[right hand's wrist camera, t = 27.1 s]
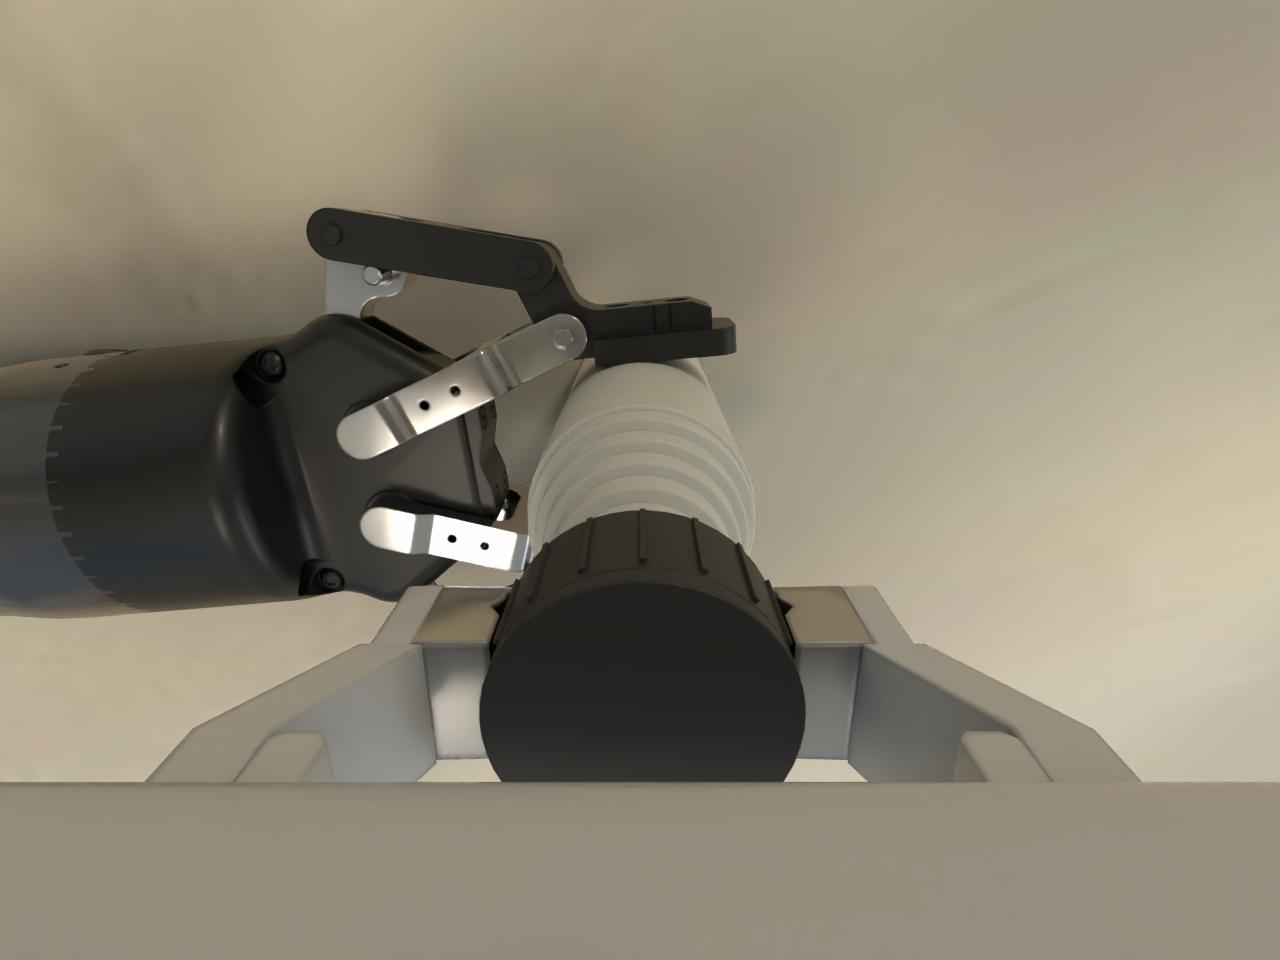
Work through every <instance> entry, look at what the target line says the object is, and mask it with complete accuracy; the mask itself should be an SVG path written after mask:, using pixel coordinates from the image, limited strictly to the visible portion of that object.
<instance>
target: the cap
mask: <svg viewBox="0 0 1280 960" xmlns="http://www.w3.org/2000/svg"><path fill="white" fill-rule="evenodd" d="M492 643H493V644H495V645H496V647H495V650H494V653H493V656H492V659H491V662H490V665H489V668H488V670H487V673H486V676H485V679H484V682H483V685H482V687H481V696H480V703H479V723H480V730H481V737H482V740H483V744H484V747H485V751H486V754H487V756H488V758H489V760H490V763H491V765H492V767H493V769H494V771H495V772H496V774H497V775H498V777H499V779H500V780H501V782H783V781H784V780H785V779H786V777H787V775H788V773H789V772H790V770H791V768H792V767H793V765H794V763H795V760H796V758H797V755H798V753H799V750H800V748H801V744H802V739H803V735H804V731H805V720H806V706H805V695H804V691H803V686H802V683H801V679H800V675H799V673H798V670H797V667H796V665H795V662H794V659H793V656H792V653H791V650H790V648H789V645H792V644H793V643H792V640H791V637H790V634H789V632H788V629H787V626H786V624H785V621H784V618H783V616H782V613H781V610H780V607H779V605H778V602H777V599H776V597H775V594H774V591H773V589H772V586H771V583H770V581H769V580H766V581H765V580H764V578H763V576H762V575H761V573H760V571H759V570H758V568H757V567H756V565H755V564H754V562H753V561H752V560H751V559H750V558H749V556H748V555H747V554H746V553H745V552H744V549H743V546H742V545H741V544H740V543H739V542H738V543H737V544H736V543H735V542H733V541H732V540H731V539H730V538H728V537H727V536H725V535H724V534H722V533H721V532H719V531H718V530H716V529H714V528H712V527H710V526H708V525H706V524H704V523H702V522H700V521H699V519H698V518H695V517H693V518H692V519H691V518H689V517H686V516H682V515H678V514H673V513H669V512H662V511H652V510H646V509H645V508H640V510H631V511H623V512H616V513H610V514H606V515H603V516H599V517H595V518H593V517H589V518H587V520H586V521H585V522H582V523H580V524H578V525H576V526H574V527H572V528H570V529H569V530H567V531H565V532H563V533H562V534H560V535H559V536H557V537H556V538H555V539H554V540H552V541H551V542H550V543H548V542H545V543H544V544H543V545H542V548H541V551H540V552H539V553H538V554H537V555H536V556H535V557H534V559H533V560H532V561H531V563H530V564H529V565H528V567H527V568H526V570H525V571H524V573H523V575H522V577H521V579H520V580H518V579H516V580H515V582H514V584H513V587H512V589H511V592H510V595H509V598H508V601H507V603H506V606H505V609H504V612H503V614H502V617H501V620H500V623H499V626H498V628H497V631H496V634H495V637H494V640H493V642H492Z"/></svg>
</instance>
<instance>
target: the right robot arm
mask: <svg viewBox="0 0 1280 960" xmlns="http://www.w3.org/2000/svg"><path fill="white" fill-rule="evenodd" d="M511 589H512V587H469V586H446V587H445V586H444V585H436V586H412V587H408V588H407V589H406V591H405V593H404V594H403V596H402V597H401V599H400V600H399V602H398V603H397V605H396V606H395V608H394V609H393V611H392V612H391V614H390V615H389V617H388V618H387V620H386V621H385V623H384V624H383V626H382V627H381V629H380V630H379V632H378V633H377V635H376V636H375V638H374V639H373V641H372V642H371V644H359V645H357V646H355V647H353V648H351V649H349V650H347V651H345V652H343V653H341V654H339V655H337V656H335V657H333V658H331V659H329V660H327V661H325V662H323V663H321V664H319V665H317V666H315V667H314V668H312V669H310V670H308V671H306V672H304V673H302V674H300V675H298V676H296V677H294V678H292V679H290V680H288V681H286V682H284V683H282V684H280V685H278V686H276V687H274V688H272V689H270V690H268V691H266V692H264V693H262V694H260V695H258V696H256V697H254V698H252V699H250V700H248V701H246V702H244V703H242V704H240V705H238V706H236V707H235V708H233V709H231V710H229V711H227V712H225V713H223V714H221V715H219V716H217V717H215V718H213V719H211V720H209V721H207V722H205V723H203V724H201V725H199V726H197V727H195V728H193V729H192V730H191V731H190V732H189V733H188V734H187V736H186V737H185V738H184V739H183V740H182V741H181V742H180V743H179V744H178V746H177V747H176V748H175V749H174V750H173V751H172V752H171V753H170V754H169V755H168V757H167V758H166V759H165V760H164V761H163V762H162V763H161V764H160V765H159V766H158V768H157V769H156V770H155V771H154V772H153V773H152V774H151V775H150V776H149V778H148V779H147V780H146V781H145V782H0V960H1280V782H1142V781H1141V780H1140V779H1139V778H1138V777H1137V776H1136V775H1135V774H1134V772H1133V771H1132V770H1131V769H1130V768H1129V767H1128V766H1127V765H1126V764H1125V763H1124V762H1123V760H1122V759H1121V758H1120V757H1119V756H1118V755H1117V754H1116V753H1115V752H1114V751H1113V749H1112V748H1111V747H1110V746H1109V745H1108V744H1107V743H1106V742H1105V741H1104V740H1103V738H1102V737H1101V736H1100V735H1099V734H1098V733H1097V732H1096V731H1095V730H1094V729H1092V728H1090V727H1088V726H1086V725H1084V724H1082V723H1080V722H1078V721H1076V720H1074V719H1072V718H1070V717H1068V716H1067V715H1065V714H1063V713H1061V712H1059V711H1057V710H1055V709H1053V708H1051V707H1049V706H1047V705H1045V704H1043V703H1041V702H1039V701H1037V700H1035V699H1033V698H1031V697H1029V696H1027V695H1025V694H1023V693H1021V692H1019V691H1017V690H1015V689H1013V688H1011V687H1009V686H1007V685H1005V684H1003V683H1001V682H999V681H997V680H995V679H993V678H991V677H989V676H987V675H985V674H983V673H981V672H979V671H977V670H975V669H973V668H971V667H969V666H967V665H965V664H963V663H961V662H959V661H958V660H956V659H954V658H952V657H950V656H948V655H946V654H944V653H942V652H940V651H938V650H936V649H934V648H932V647H930V646H928V645H926V644H914V643H913V641H912V640H911V639H910V637H909V636H908V634H907V633H906V631H905V630H904V628H903V627H902V625H901V624H900V622H899V621H898V619H897V618H896V617H895V615H894V614H893V612H892V611H891V609H890V608H889V606H888V605H887V603H886V602H885V600H884V599H883V597H882V596H881V595H880V593H879V592H878V590H877V589H876V587H873V586H871V585H863V586H841V587H840V586H816V587H774V588H772V589H773V591H774V594H775V597H776V599H777V602H778V605H779V607H780V610H781V613H782V616H783V618H784V621H785V624H786V626H787V629H788V632H789V634H790V637H791V640H792V643H793V644H792V645H789V648H790V650H791V653H792V656H793V659H794V662H795V665H796V667H797V670H798V673H799V675H800V679H801V683H802V686H803V691H804V695H805V706H806V720H805V731H804V735H803V739H802V744H801V748H800V750H799V753H798V755H797V758H796V759H833V760H848V763H849V764H850V765H851V766H852V767H853V768H854V769H855V770H856V771H857V772H858V773H859V774H861V775H862V776H863V777H864V778H865V779H866V780H867V781H868V782H417V781H418V780H419V779H420V778H421V777H422V776H423V775H424V774H425V773H426V772H428V771H429V770H430V769H431V768H432V767H433V766H434V765H435V764H436V760H451V759H486V758H488V756H487V754H486V751H485V747H484V744H483V740H482V737H481V730H480V723H479V703H480V696H481V687H482V685H483V682H484V679H485V676H486V673H487V670H488V668H489V665H490V662H491V659H492V656H493V653H494V650H495V647H496V645H495V644H493V643H492V642H493V640H494V637H495V634H496V631H497V628H498V626H499V623H500V620H501V617H502V614H503V612H504V609H505V606H506V603H507V601H508V598H509V595H510V592H511Z"/></svg>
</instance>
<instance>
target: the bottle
mask: <svg viewBox="0 0 1280 960" xmlns="http://www.w3.org/2000/svg"><path fill="white" fill-rule="evenodd" d="M640 508H645V509H646V510H652V511H662V512H669V513H673V514H678V515H682V516H686V517H689V518H691V519H692V518H693V517H695V518H698V519H699V521H700V522H702V523H704V524H706V525H708V526H710V527H712V528H714V529H716V530H718V531H719V532H721V533H722V534H724V535H725V536H727V537H728V538H730V539H731V540H732V541H733V542H735V543H736V544H737V543H738V542H739V543H740V544H741V545H742V546H743V549H744V552H745V553H746V554H747V555H748V556H749V555H750V553H751V549H752V545H753V541H754V536H755V525H756V523H755V516H756V502H755V494H754V488H753V483H752V481H751V478H750V475H749V472H748V469H747V467H746V465H745V463H744V460H743V458H742V456H741V454H740V451H739V449H738V447H737V445H736V443H735V440H734V438H733V436H732V434H731V431H730V429H729V427H728V425H727V423H726V420H725V418H724V416H723V414H722V411H721V409H720V407H719V405H718V402H717V400H716V398H715V396H714V394H713V391H712V389H711V387H710V385H709V382H708V380H707V378H706V376H705V374H704V371H703V369H702V367H701V365H700V362H699V360H698V359H697V358H688V359H677V360H667V361H656V362H646V363H629V364H623V365H614V366H603V367H595V359H594V358H586V359H584V361H583V363H582V365H581V368H580V370H579V372H578V374H577V377H576V379H575V381H574V383H573V386H572V388H571V390H570V393H569V395H568V397H567V399H566V402H565V404H564V406H563V409H562V411H561V413H560V415H559V418H558V420H557V422H556V425H555V427H554V429H553V431H552V434H551V436H550V438H549V441H548V443H547V445H546V447H545V450H544V452H543V454H542V456H541V459H540V461H539V463H538V466H537V468H536V470H535V473H534V475H533V478H532V481H531V485H530V489H529V495H528V503H527V511H528V534H529V539H530V545H531V548H532V551H533V554H534V557H535V556H536V555H537V554H538V553H539V552H540V551H541V548H542V545H543V544H544V543H545V542H548V543H550V542H551V541H552V540H554V539H555V538H556V537H557V536H559V535H560V534H562V533H563V532H565V531H567V530H569V529H570V528H572V527H574V526H576V525H578V524H580V523H582V522H585V521H586V520H587V518H589V517H593V518H595V517H599V516H603V515H606V514H610V513H616V512H623V511H631V510H640Z"/></svg>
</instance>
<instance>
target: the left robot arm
mask: <svg viewBox="0 0 1280 960" xmlns="http://www.w3.org/2000/svg"><path fill="white" fill-rule="evenodd" d="M307 238H308V241H309V243H310V245H311V247H312V248H313V249H314V251H315V252H316V253H317V254H319V255H320V256H322V257H323V258H325V315H324V316H321V317H319V318H316V319H315V320H313V321H311V322H310V323H309V324H308V325H307V326H305V327H304V328H303V329H302V330H300V331H299V332H297V333H295V334H293V335H287V336H278V337H267V338H257V339H247V340H236V341H226V342H215V343H205V344H195V345H184V346H174V347H163V348H153V349H143V350H133V351H128V350H119V349H103V350H91V351H87V352H86V353H83V354H80V356H71V357H62V358H52V359H43V360H36V361H29V362H23V363H19V364H14V365H10V366H6V367H2V368H0V616H22V617H35V618H57V619H60V618H86V617H101V616H113V615H124V614H136V613H148V612H161V611H173V610H185V609H197V608H209V607H221V606H233V605H245V604H257V603H269V602H281V601H293V600H301V599H307V598H312V597H316V596H320V595H325V594H329V593H334V592H340V591H351V592H357V593H362V594H365V595H368V596H371V597H373V598H376V599H379V600H382V601H387V602H397V603H398V602H399V600H400V599H401V597H402V596H403V594H404V593H405V591H406V589H407V588H408V587H412V586H436V585H438V584H437V583H435V582H434V581H435V580H436V579H437V578H438V577H439V576H441V575H442V574H443V573H444V572H445V571H446V570H447V569H449V568H450V567H451V566H452V565H453V564H454V563H456V562H457V561H458V560H459V561H464V562H468V563H473V564H478V565H482V566H487V567H491V568H496V569H500V570H505V571H510V572H522V571H525V570H526V568H527V567H528V565H529V564H530V563H531V561H532V560H533V559H534V554H533V551H532V548H531V545H530V539H529V534H528V511H527V503H528V495H529V489H530V488H529V487H525V486H521V485H516V484H512V483H508V477H507V471H506V466H505V464H504V461H503V459H502V457H501V455H500V453H499V451H498V448H497V446H496V444H495V431H496V421H497V413H496V407H495V401H494V399H496V398H498V397H500V396H502V395H504V394H505V393H507V392H509V391H510V390H512V389H513V388H515V387H517V386H518V385H520V384H522V383H524V382H527V381H529V380H531V379H533V378H535V377H537V376H539V375H542V374H544V373H546V372H548V371H550V370H552V369H554V368H557V367H559V366H561V365H563V364H565V363H567V362H569V361H571V360H576V359H586V358H594V359H595V367H603V366H614V365H623V364H629V363H646V362H656V361H667V360H677V359H688V358H698V357H709V356H719V355H727V354H732V353H734V352H736V331H735V324H734V323H733V322H732V321H731V320H730V319H729V318H712V311H711V306H710V305H709V304H708V303H707V302H705V301H702V300H698V299H695V298H692V297H689V296H685V297H675V298H667V299H655V300H644V301H634V302H624V303H614V304H602V305H599V304H594V303H590V302H588V301H586V300H585V299H583V298H582V297H581V296H580V295H579V294H578V292H577V291H576V289H575V288H574V286H573V284H572V282H571V280H570V278H569V275H568V273H567V271H566V269H565V267H564V265H563V257H562V254H561V252H560V250H559V249H558V248H557V247H556V246H555V245H554V244H553V243H551V242H549V241H546V240H541V239H535V238H529V237H523V236H517V235H511V234H505V233H499V232H493V231H487V230H481V229H475V228H469V227H463V226H457V225H451V224H445V223H439V222H433V221H427V220H421V219H415V218H409V217H403V216H397V215H391V214H385V213H379V212H373V211H364V210H352V209H337V208H322V209H319V210H317V211H316V212H314V213H313V214H312V215H311V217H310V218H309V220H308V223H307ZM417 274H418V275H424V276H430V277H436V278H442V279H449V280H455V281H461V282H467V283H473V284H479V285H485V286H492V287H498V288H504V289H510V290H516V291H517V292H518V294H519V296H520V298H521V300H522V302H523V304H524V306H525V308H526V310H527V312H528V314H529V316H530V317H531V319H532V321H530V322H528V323H526V324H524V325H522V326H520V327H518V328H516V329H514V330H512V331H509V332H506V333H504V334H502V335H500V336H498V337H495V338H493V339H491V340H489V341H487V342H485V343H483V344H481V345H479V346H477V347H475V348H473V349H471V350H469V351H466V352H464V353H462V354H460V355H458V356H456V357H454V358H452V359H451V358H449V357H447V356H446V355H444V354H442V353H440V352H438V351H437V350H435V349H433V348H431V347H430V346H428V345H426V344H424V343H422V342H421V341H419V340H417V339H415V338H413V337H412V336H410V335H408V334H406V333H404V332H403V331H401V330H399V329H397V328H396V327H394V326H392V325H390V324H388V323H387V322H385V321H383V320H381V319H379V318H378V317H376V316H374V315H373V309H374V306H375V304H376V303H377V302H378V301H379V300H380V299H381V298H389V297H393V296H397V295H401V294H404V293H406V292H408V291H409V290H411V289H412V287H413V286H414V284H415V282H416V278H417ZM506 503H507V504H506ZM506 587H513V584H512V585H509V586H506Z"/></svg>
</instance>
